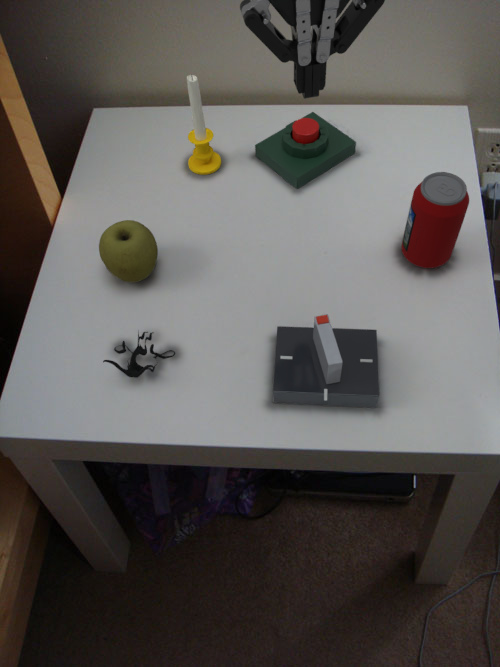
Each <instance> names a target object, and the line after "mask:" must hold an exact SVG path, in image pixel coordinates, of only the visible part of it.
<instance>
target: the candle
mask: <svg viewBox="0 0 500 667" xmlns="http://www.w3.org/2000/svg"><path fill="white" fill-rule="evenodd" d="M186 83H187V84H186V85H187V92H188V99H189V105H190V111H191V112H190V113H191V118H192V124H193V125H192V126H193V129H192V130H191V131H189V132H188V135H187V139H188V142H190V143H191V144H193V145H194V149H193V150H192V154H191V156H190V157H189V159H188V160H187V166H188V168H189V170H190V171H191V172H192V173H194V174H196V175H200V176H205V175H210V174H213V173H215V172H216V171H218V170H220V168H221V166H222V157H221V155H220V154H219V153H218V152H216V151H215V150H214V147H212V146H211V145H210V142H211V141H212V140H213V139H214V137H215V136H214V134H215V133H214V132H213V130H211V129H210V128H208V127H206V123H205V122H206V121H205V116H204V109H203V103H202V102H203V101H202V96H201V89H200V85H199V79H198V77H197V76H196V75H194V74H192V73H191V74H189V75H187V76H186Z"/></svg>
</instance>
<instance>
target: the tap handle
mask: <svg viewBox="0 0 500 667" xmlns="http://www.w3.org/2000/svg"><path fill="white" fill-rule="evenodd" d="M313 328H314V330H313V340H314V343H315V347H316V350H317V353H318V357H319V360H320V364H321V367H322V371H323V374H324V378H325V381H326V384H331V383H337V382H340V377H341V370H342V363H343V361H342V358H341V355H340V352H339V349H338V345H337V342H336V339H335V336H334V333H333V330H332V328H333V326H332V323H331V319H330V317H329V315H328V314H322V315H316V316H314V317H313Z"/></svg>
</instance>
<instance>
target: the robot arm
mask: <svg viewBox="0 0 500 667" xmlns="http://www.w3.org/2000/svg"><path fill="white" fill-rule="evenodd" d="M350 1H351V2H350ZM349 2H350V3H349ZM385 2H386V0H242V1H241V2H240V4H239V10H240V13H241V16H242V19H243V21H244V25H245V26H246V27H247V29H248V30H249V31H250V32H252V34H254V36H255V37H256V38H257V39H259V41H260V42H261V43H262V44H263V45H264V46H265V47H266V48H267V49H268V50H269V51H270V52H271V53H272V54H273V55H274V56H275V57H276V58H277V60H279V61H280V62H281V63H289V62H293V83H294V85H295V89H296V91H297V93H298V94H300V95H302V98H303V100H304V99H311V98H317V97H319V96H320V91H323V90H324V89H325V87H326V81H327V80H326V79H327V65H328V64H327V62H328V60H329V59H330V57H331V56H332V55H334V54H336V53H337V54H339V55H342V54H344V53H346V52H347V51H348V50H349V48H351V46H352V45H353V43H354V42H355V41H356V39H357V38H358V37H359V35H361V33H362V32H363V31H364V29H365V28H366V27H367V26H368V24H369V23H370V22H371V20H372V19H373V18H374V17H375V15H376V14H377V13H378V12H379V10H380V9H381V8H382V7H383V5H384V4H385ZM270 5H271V6H272V7H273V8H274V9H275V11H276V12H277V13H278V14H279V16H280V17H281V18H282V19H283V20H284V22H286V24H287V25H289V26H290V32H291V39H288V38H286V36H285V35H284V34H283V33H282V32H281V31H280V30H279V28H278V27H276V25H275V24H274V23H273V22H272V21H271V19H272V13H271V10H270V8H269V7H270Z"/></svg>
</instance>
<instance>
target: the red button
mask: <svg viewBox="0 0 500 667" xmlns="http://www.w3.org/2000/svg"><path fill="white" fill-rule="evenodd" d="M296 120H297V121H296ZM296 120H294V121H295V122H294V121H293V122H294V124H293V126H292V137H293V139H294V141H296V142H297V143H301V144H309V143H313V142H315V141H316V140H317V139H318V137H319V124H318V122H317V121H315V120H313V119H311V118H303V117H301V118H299V119H296Z"/></svg>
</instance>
